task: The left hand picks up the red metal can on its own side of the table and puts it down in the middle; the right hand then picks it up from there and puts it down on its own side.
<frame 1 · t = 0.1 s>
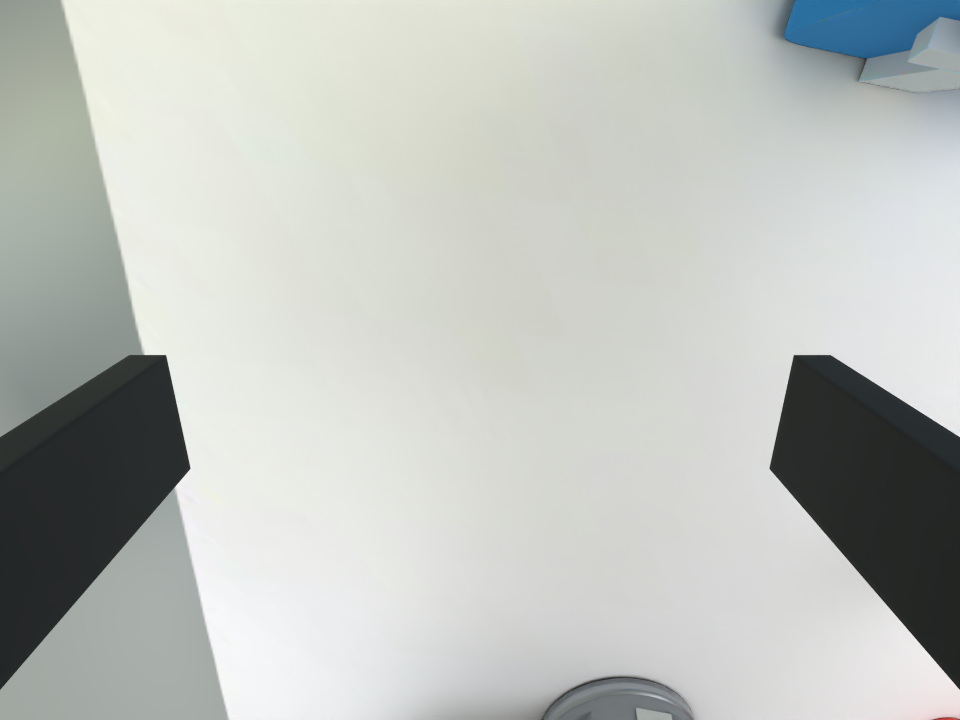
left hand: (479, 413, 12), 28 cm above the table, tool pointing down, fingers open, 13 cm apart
logo: (942, 18, 34), on the table
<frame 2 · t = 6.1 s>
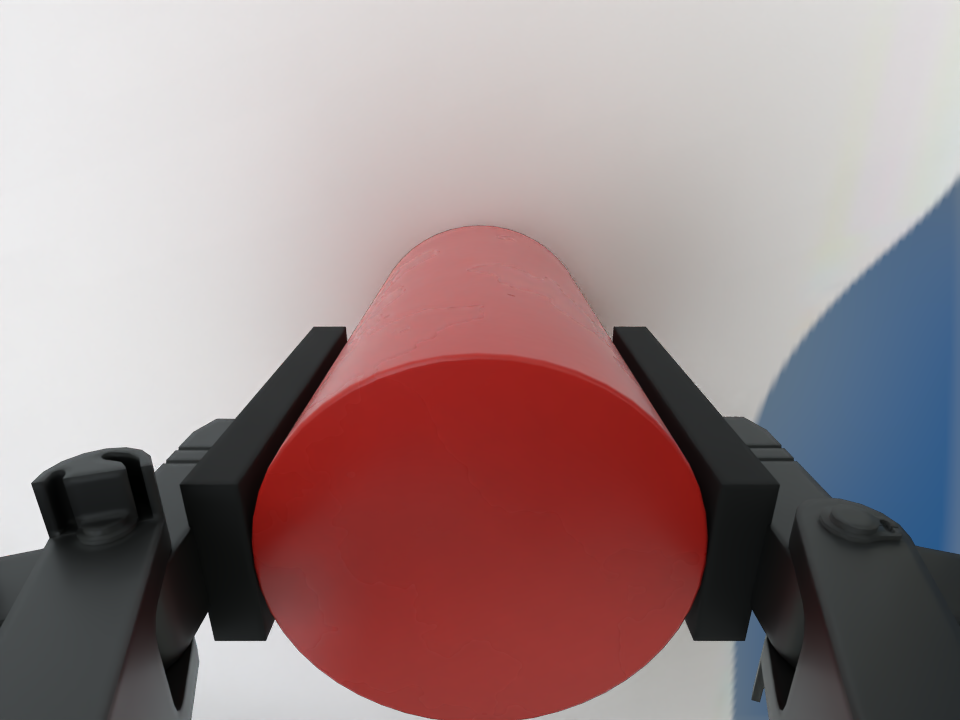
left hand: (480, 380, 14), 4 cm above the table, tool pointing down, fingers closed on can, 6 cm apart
can: (479, 330, 17), on the table, touching left hand
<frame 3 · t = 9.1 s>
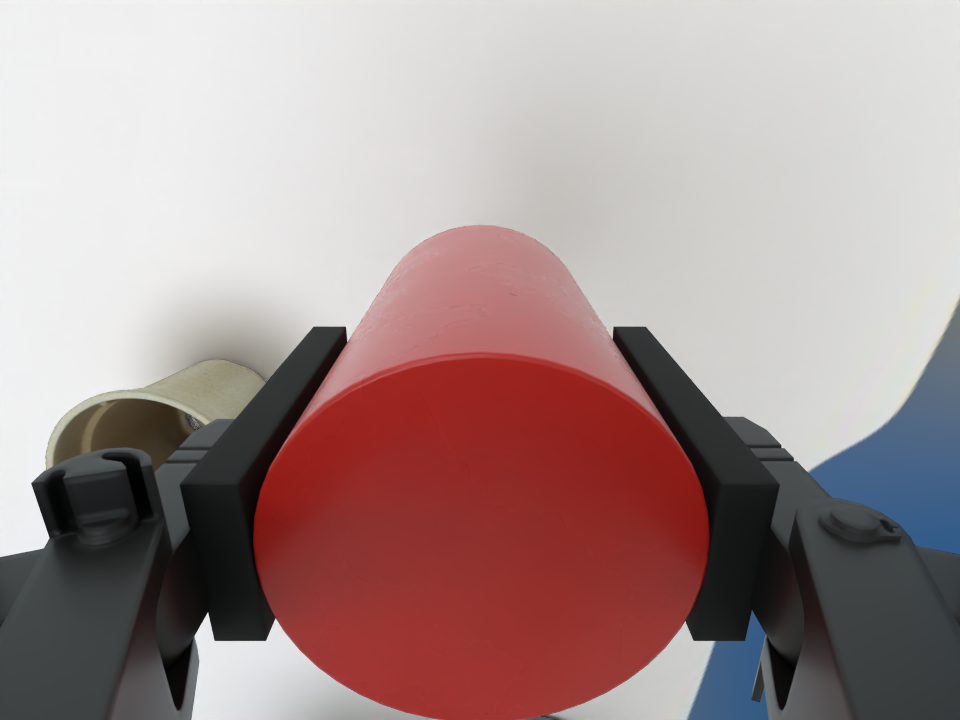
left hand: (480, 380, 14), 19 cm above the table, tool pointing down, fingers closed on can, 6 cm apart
can: (480, 330, 17), point 15 cm above the table, touching left hand
flower pot: (227, 403, 35), on the table
when the left hand's fingers open (5 cm above the table, at t = 12.5 s): can drops 2 cm, on the table.
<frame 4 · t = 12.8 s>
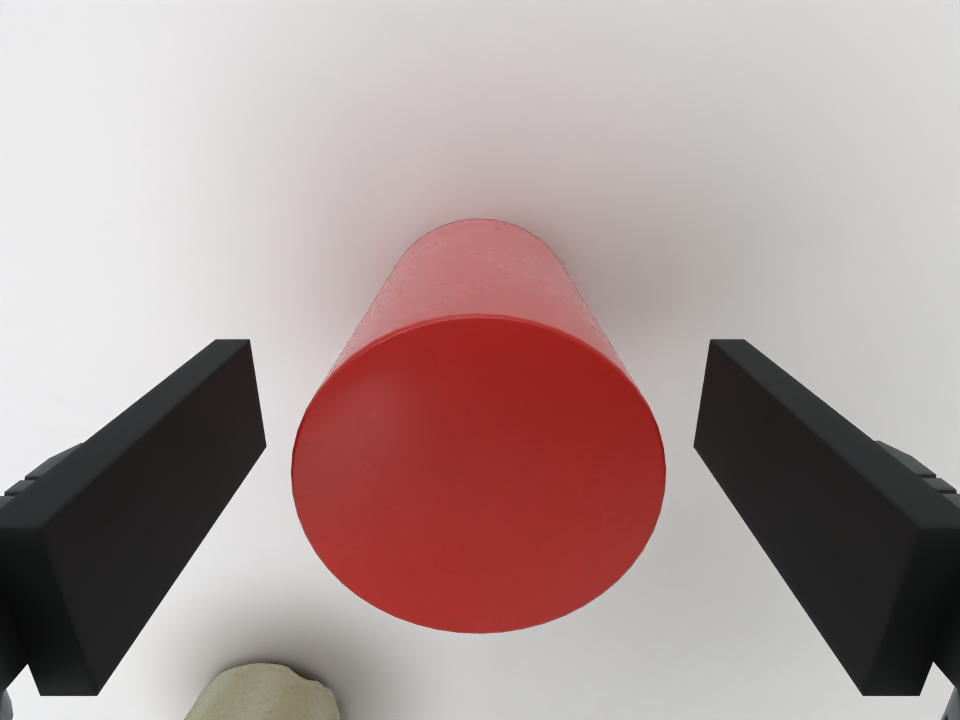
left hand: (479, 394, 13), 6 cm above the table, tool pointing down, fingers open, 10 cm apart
can: (479, 315, 19), on the table
flower pot: (272, 704, 26), on the table
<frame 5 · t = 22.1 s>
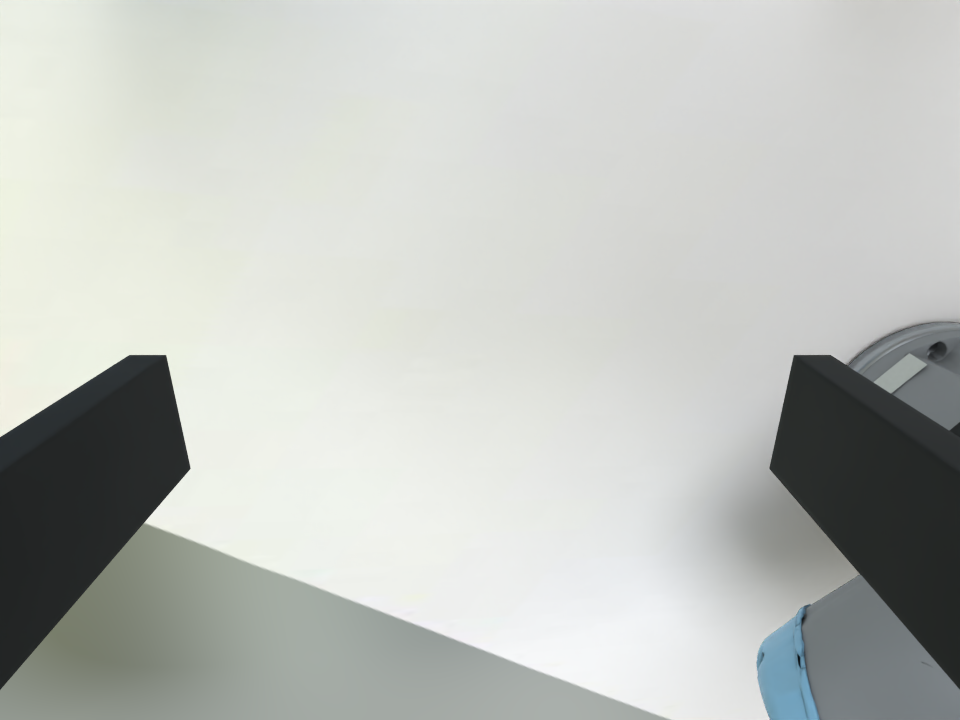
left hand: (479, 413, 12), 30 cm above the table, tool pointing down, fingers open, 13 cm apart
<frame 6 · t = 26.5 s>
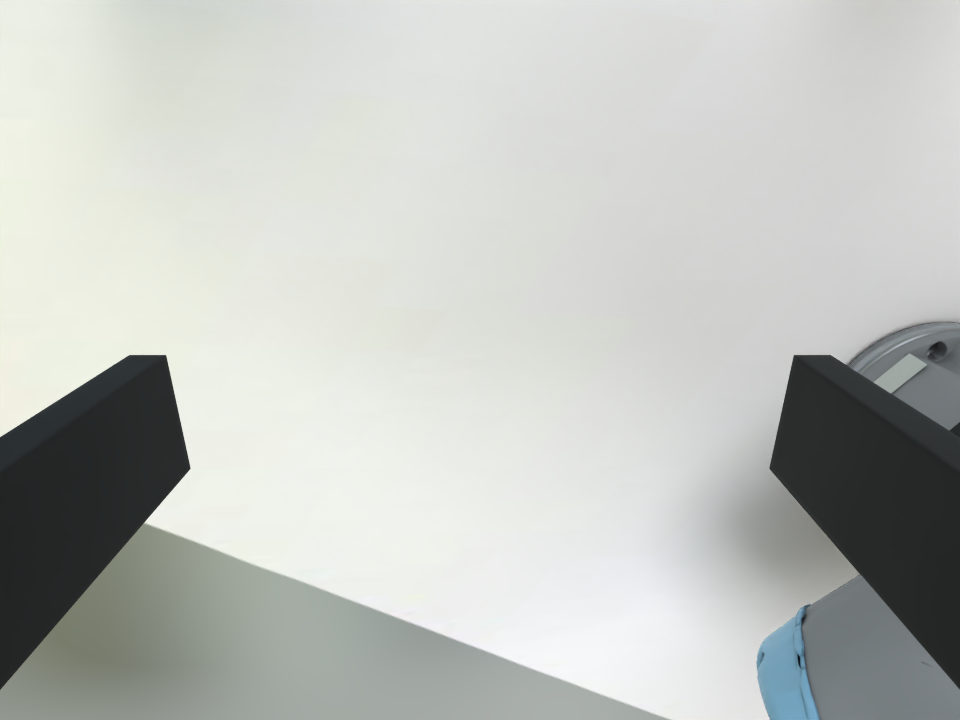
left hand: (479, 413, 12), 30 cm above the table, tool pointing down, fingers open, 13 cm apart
when the right hand's fingers open (5 cm above the table, at t = 30.7 s): can drops 2 cm, on the table.
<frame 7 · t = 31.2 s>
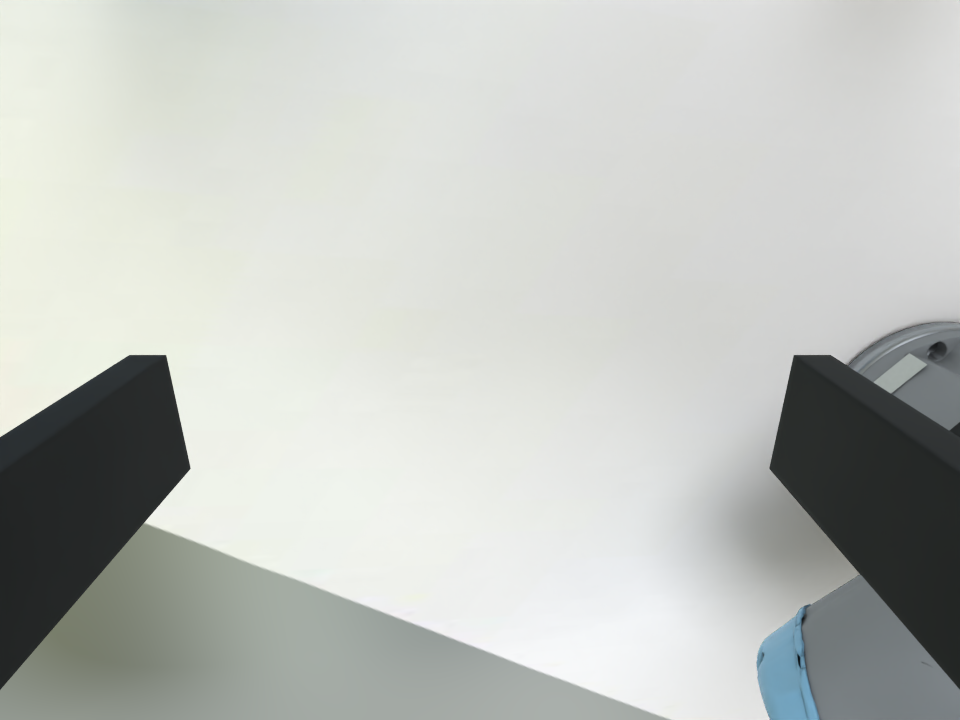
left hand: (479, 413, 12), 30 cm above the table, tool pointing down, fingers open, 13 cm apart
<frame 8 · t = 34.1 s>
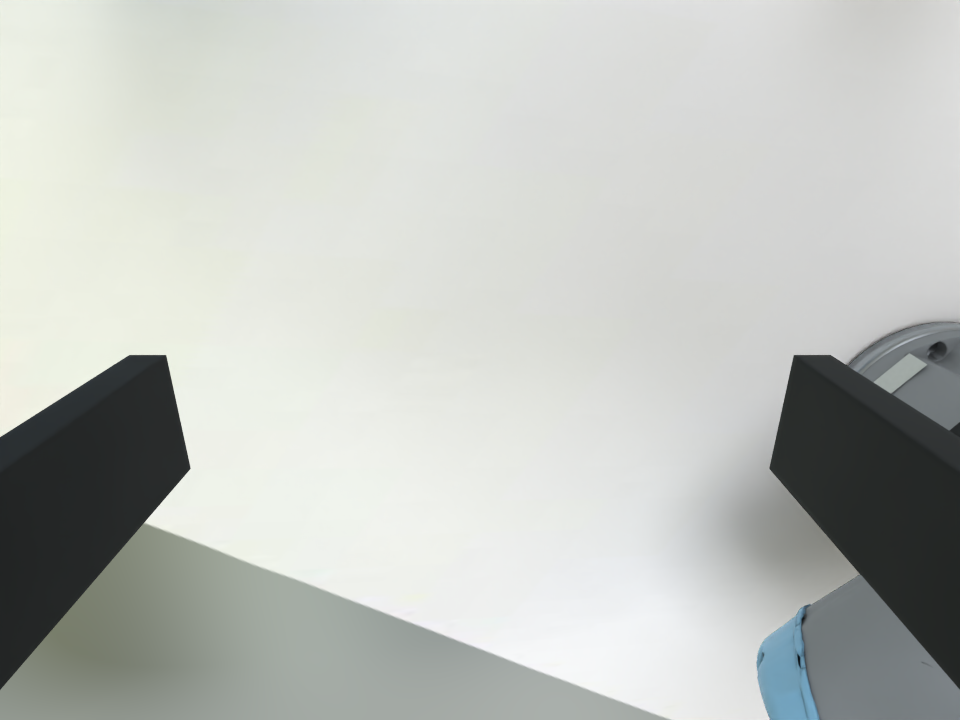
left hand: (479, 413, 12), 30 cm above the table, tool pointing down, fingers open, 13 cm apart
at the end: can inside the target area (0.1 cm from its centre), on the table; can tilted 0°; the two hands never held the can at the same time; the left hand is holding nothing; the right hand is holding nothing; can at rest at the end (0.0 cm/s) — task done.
